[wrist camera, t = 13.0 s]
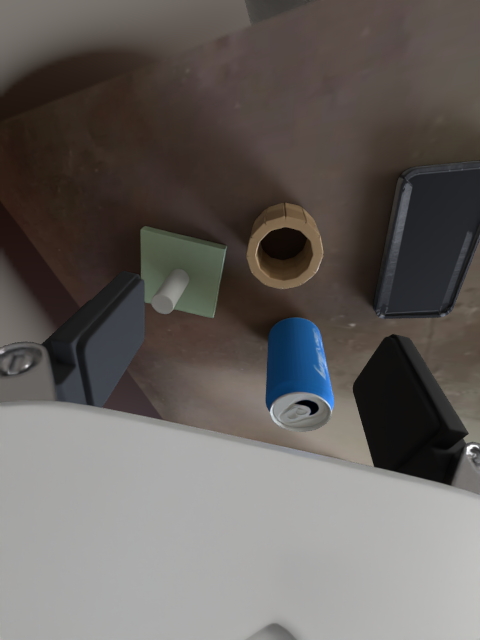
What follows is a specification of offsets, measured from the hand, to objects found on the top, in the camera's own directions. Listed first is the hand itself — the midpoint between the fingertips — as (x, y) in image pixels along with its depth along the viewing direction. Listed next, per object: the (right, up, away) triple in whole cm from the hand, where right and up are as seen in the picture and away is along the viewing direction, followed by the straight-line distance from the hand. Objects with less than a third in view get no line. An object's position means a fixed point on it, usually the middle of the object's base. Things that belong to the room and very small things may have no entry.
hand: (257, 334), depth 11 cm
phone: (+18, +8, +17) cm, 26 cm away
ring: (+4, +9, +18) cm, 20 cm away
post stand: (-7, +6, +21) cm, 23 cm away
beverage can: (+6, -1, +25) cm, 26 cm away
